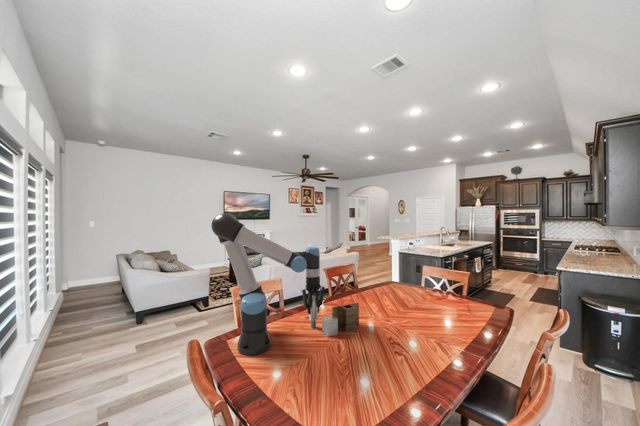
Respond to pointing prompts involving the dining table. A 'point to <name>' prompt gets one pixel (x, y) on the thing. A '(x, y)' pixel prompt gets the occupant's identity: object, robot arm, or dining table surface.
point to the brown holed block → (348, 311)
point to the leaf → (335, 321)
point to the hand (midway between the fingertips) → (313, 319)
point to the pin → (313, 312)
